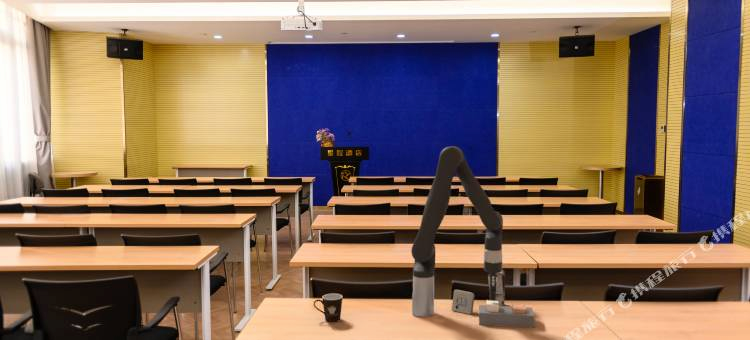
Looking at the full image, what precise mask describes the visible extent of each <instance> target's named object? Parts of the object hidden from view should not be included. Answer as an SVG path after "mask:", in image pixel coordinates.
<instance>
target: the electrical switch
mask: <svg viewBox="0 0 750 340" xmlns="http://www.w3.org/2000/svg"><path fill="white" fill-rule="evenodd" d="M474 303H475V294H474V293H473V292H470V291H467V290H466V291H465V290H460V289H454V290H453V298H452V303H451V310H452V311H453V312H456V313H457V312H458V313H462V314H467V315H472V313H473V310H474Z"/></svg>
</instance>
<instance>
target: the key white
mask: <svg viewBox="0 0 750 340" xmlns="http://www.w3.org/2000/svg"><path fill="white" fill-rule="evenodd" d="M485 305H486V311H487V312H499V301H490V299H489V300H488V299H486V304H485Z"/></svg>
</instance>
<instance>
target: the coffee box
mask: <svg viewBox="0 0 750 340" xmlns="http://www.w3.org/2000/svg"><path fill="white" fill-rule="evenodd" d="M496 275H498V281H497V287H496V300H495V301H499V306H505V297H506V296H505V289H506V288H505V287H506V286H505V285H506V284H505V283H506V282H505V281H506V273H505V269H502V271H501V272H499V273H496ZM489 301H491V300H490V299H489Z"/></svg>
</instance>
